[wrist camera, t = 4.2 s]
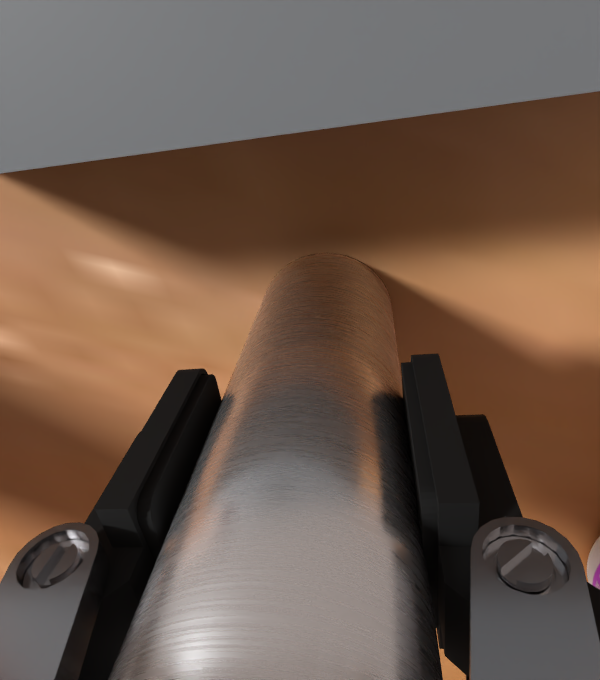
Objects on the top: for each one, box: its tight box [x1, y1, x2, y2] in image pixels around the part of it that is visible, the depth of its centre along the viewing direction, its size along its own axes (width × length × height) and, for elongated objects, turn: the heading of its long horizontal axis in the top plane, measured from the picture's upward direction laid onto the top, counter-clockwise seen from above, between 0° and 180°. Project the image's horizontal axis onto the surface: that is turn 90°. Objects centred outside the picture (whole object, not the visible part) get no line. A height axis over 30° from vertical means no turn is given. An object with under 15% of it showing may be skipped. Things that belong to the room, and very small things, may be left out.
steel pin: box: [108, 253, 443, 680], centre depth 9 cm, size 4×4×14 cm
